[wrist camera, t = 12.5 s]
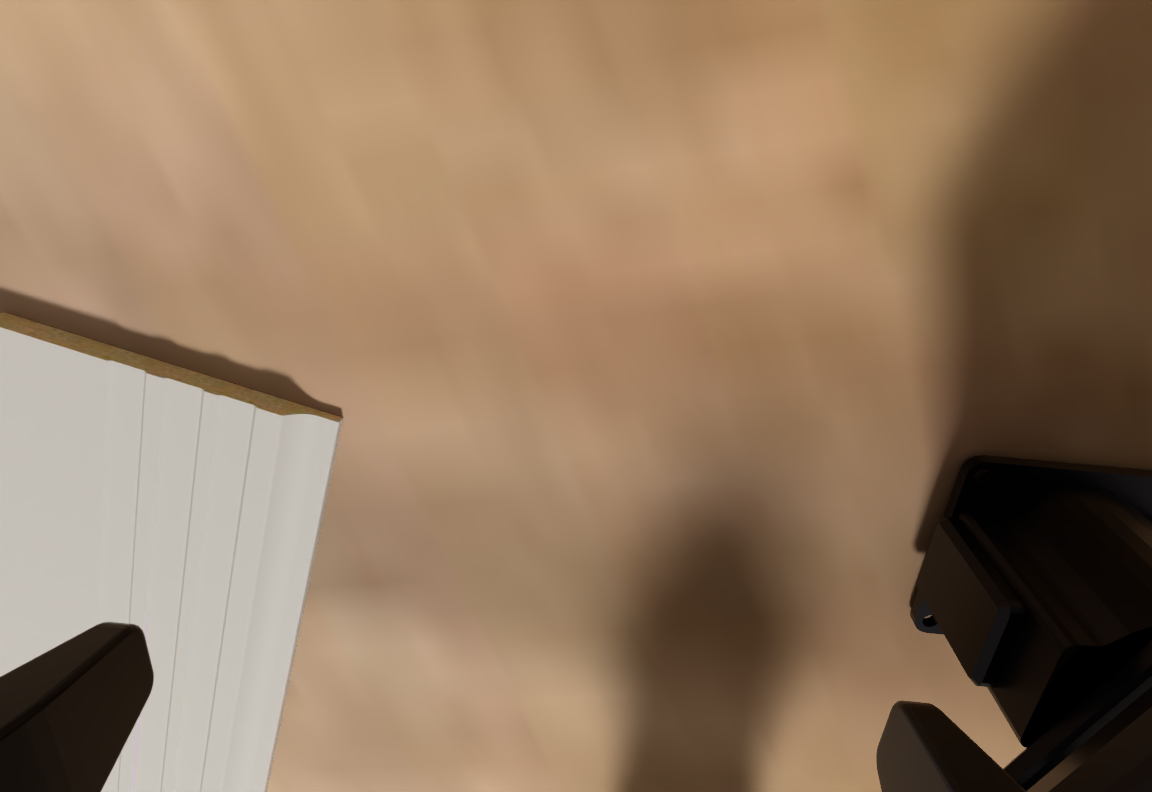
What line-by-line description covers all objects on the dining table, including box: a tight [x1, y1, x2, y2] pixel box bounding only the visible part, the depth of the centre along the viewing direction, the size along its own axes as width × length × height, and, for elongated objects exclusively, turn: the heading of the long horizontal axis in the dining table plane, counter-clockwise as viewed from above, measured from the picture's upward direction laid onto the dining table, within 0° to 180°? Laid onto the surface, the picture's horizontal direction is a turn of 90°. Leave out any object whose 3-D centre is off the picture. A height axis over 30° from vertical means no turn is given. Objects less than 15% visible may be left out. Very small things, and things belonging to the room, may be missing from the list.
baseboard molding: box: [0, 313, 343, 792], centre depth 27 cm, size 31×3×12 cm
